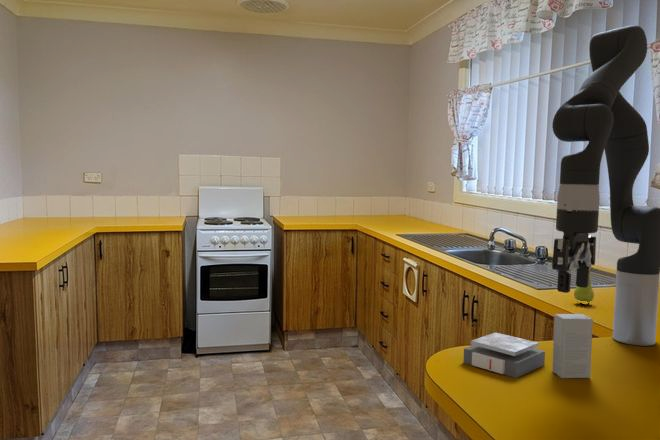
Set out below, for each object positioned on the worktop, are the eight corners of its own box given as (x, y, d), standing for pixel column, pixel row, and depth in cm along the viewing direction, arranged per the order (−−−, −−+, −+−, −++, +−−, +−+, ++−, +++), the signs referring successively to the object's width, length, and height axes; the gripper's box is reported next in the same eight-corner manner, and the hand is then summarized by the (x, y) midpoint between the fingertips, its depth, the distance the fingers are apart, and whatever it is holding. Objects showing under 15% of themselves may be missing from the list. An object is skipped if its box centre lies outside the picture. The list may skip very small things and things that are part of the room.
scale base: (493, 351, 123) (493, 338, 123) (544, 365, 114) (545, 351, 114) (460, 363, 114) (461, 349, 114) (513, 379, 105) (514, 364, 105)
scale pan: (495, 338, 121) (495, 332, 121) (538, 348, 114) (538, 342, 114) (470, 346, 114) (471, 340, 114) (514, 358, 107) (515, 352, 107)
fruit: (569, 303, 175) (571, 266, 175) (584, 302, 177) (586, 265, 176) (582, 307, 170) (584, 269, 169) (597, 306, 172) (599, 268, 171)
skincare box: (580, 371, 111) (583, 313, 110) (590, 378, 107) (594, 318, 106) (550, 371, 111) (553, 313, 110) (560, 378, 106) (563, 318, 105)
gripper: (573, 206, 114) (569, 282, 115) (542, 207, 104) (537, 290, 105) (611, 208, 108) (606, 288, 109) (582, 209, 99) (576, 297, 100)
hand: (572, 289), depth 107 cm, fingers open, 8 cm apart
